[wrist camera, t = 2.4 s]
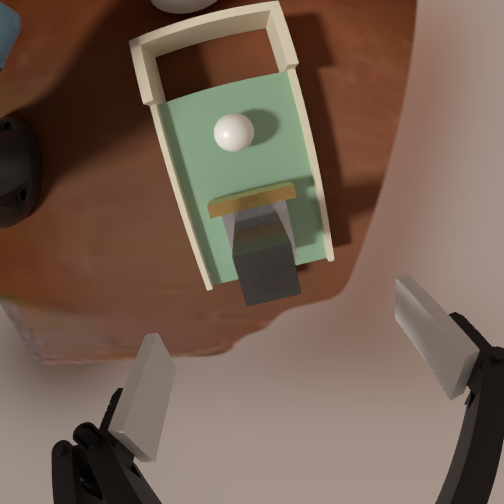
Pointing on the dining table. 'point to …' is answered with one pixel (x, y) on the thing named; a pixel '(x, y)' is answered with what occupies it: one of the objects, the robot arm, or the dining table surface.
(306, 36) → the dining table surface
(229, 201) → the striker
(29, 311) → the dining table surface
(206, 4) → the mug
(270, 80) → the pitch
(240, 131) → the ball
